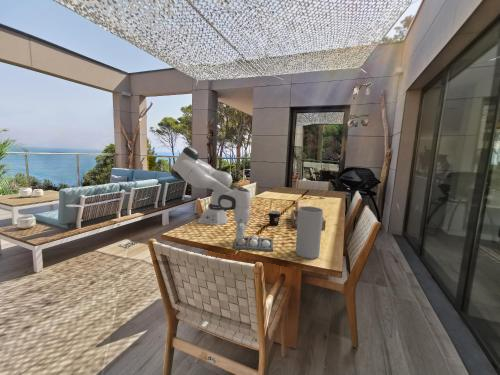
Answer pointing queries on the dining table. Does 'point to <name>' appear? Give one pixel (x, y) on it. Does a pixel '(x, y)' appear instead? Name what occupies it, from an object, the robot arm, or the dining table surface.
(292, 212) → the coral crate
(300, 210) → the cylinder vase
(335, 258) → the dining table surface
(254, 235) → the cream egg
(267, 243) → the cream egg
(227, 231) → the dining table surface
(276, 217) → the coffee mug
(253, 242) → the cream egg
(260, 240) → the egg tray
